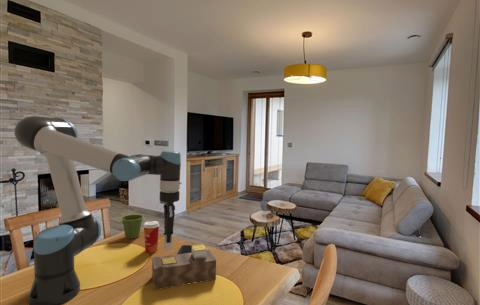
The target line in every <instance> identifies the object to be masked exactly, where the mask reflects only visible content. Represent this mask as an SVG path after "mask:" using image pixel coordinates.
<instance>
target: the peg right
mask: <svg viewBox="0 0 480 305" xmlns="http://www.w3.org/2000/svg"><path fill="white" fill-rule="evenodd" d="M191 246H192V259H193V261H196V260H203V259H206V251H207V247H206V246H205V245H204V243H203V244H195V245H191Z"/></svg>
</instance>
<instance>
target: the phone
mask: <svg viewBox="0 0 480 305" xmlns="http://www.w3.org/2000/svg"><path fill="white" fill-rule="evenodd" d="M192 246H193V245H189V244H188V245H187V244H183V245H181V247H180V249H179V250H178V251H177V254H184V253H192Z"/></svg>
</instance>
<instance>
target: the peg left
mask: <svg viewBox="0 0 480 305" xmlns="http://www.w3.org/2000/svg"><path fill="white" fill-rule="evenodd" d="M174 263H176V260H175V257H170V258H163V259H162V265H167V264H174Z"/></svg>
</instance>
